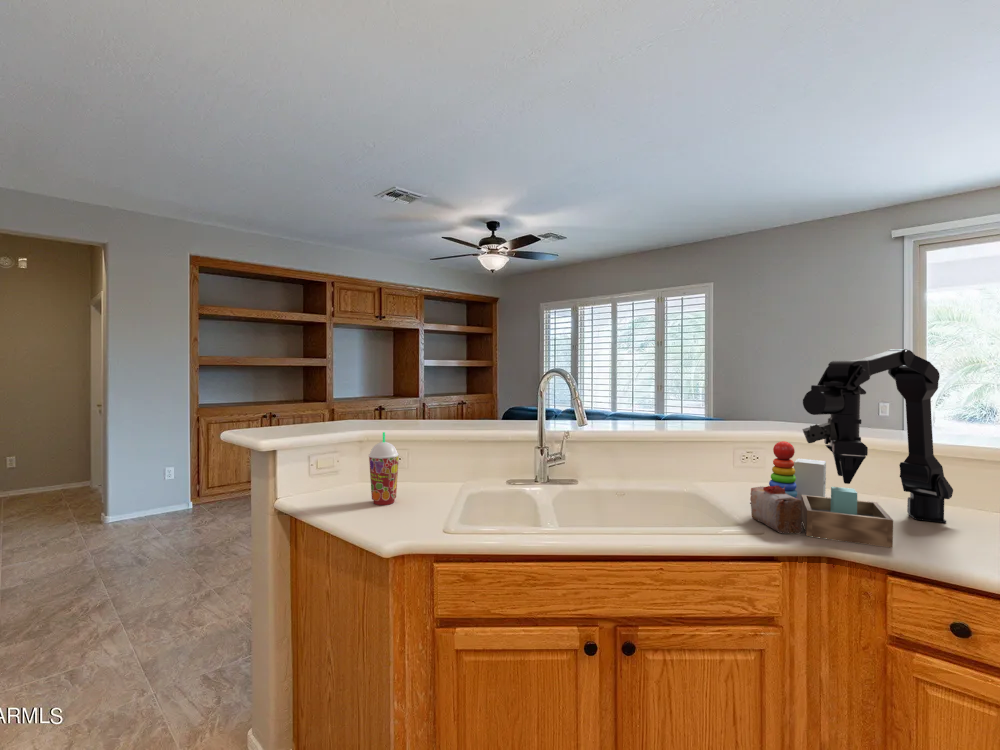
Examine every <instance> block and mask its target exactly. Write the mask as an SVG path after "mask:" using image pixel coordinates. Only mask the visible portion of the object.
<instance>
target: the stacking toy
mask: <svg viewBox="0 0 1000 750" xmlns="http://www.w3.org/2000/svg"><path fill="white" fill-rule="evenodd" d="M772 450H773V454H774V456H775V457H776V458H774V459H773V460H772V463H773V464H772V465H774V466H773V467H772V468H771V470H772V473H771V474H770V480H769V482H768V486H777V485H779V487H781V488H784V487H785V489H784V490H785V493H786V494H788V495H790V496H792V497H794V498H797V497H796V496H797V491H796V490H795V489H796V487H797V485H796V483H795V481H796V477H795V476H794V474H795V469H794V462H795V461H793V459H792V458H793V457H794V455H795V453H796V451H795V447H794V446H793V445H792V444H791V443H790V442H788V441H784V440H783V441H778V442H776V443H775V444H774V446H773V449H772ZM797 499H798V498H797Z"/></svg>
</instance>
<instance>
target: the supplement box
mask: <svg viewBox="0 0 1000 750" xmlns="http://www.w3.org/2000/svg"><path fill="white" fill-rule="evenodd" d="M793 462H794V466H793V468H794V469H795V474H794V476H795V477H796V481H795V483H796V485H797V487H796V489H795V490H796V491H797V496H796V497H797V498H798V499H799V500H801V495H810V496H820V497H826V489H827V487H826V483H827V477H826V476H827V461H826V460H820V459H818V460H817V459H809V458H796V459H795V461H793Z"/></svg>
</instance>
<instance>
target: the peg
mask: <svg viewBox="0 0 1000 750" xmlns="http://www.w3.org/2000/svg"><path fill="white" fill-rule="evenodd" d="M830 498H831V512H834V513H843V514H853V515H857V500H858V492H857V491H856V489H855V488H850V487H849V488H848V487H840V486H839V487H838V486H830Z"/></svg>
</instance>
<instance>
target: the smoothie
mask: <svg viewBox="0 0 1000 750" xmlns="http://www.w3.org/2000/svg"><path fill="white" fill-rule="evenodd" d="M399 456H400V453H399V452H398V451H397V448H396V447H395V445H394V444H393V443H391V442H388V441H386V432H385V431H383V432H382V441H380V442H378V443H376V444H375V445H374V446H372V449H371V451H370V453H369V454H368V461H369V462H368V463H369V473H370V475H369V477H370V491H371V492H370V493H371V500H372V501H373V504H375V505H377V506H387V505H391V504H394V502H395V499H396V498H397V492H398V491H397V489H398V488H397V487H398V473H399Z"/></svg>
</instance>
